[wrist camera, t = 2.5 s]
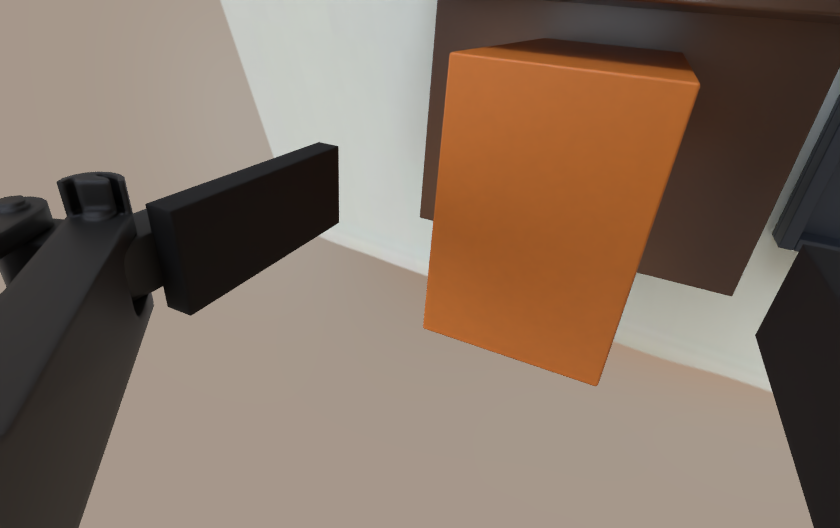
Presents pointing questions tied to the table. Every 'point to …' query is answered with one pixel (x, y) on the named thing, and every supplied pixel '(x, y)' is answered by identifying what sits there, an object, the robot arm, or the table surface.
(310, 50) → the table surface
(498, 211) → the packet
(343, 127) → the table surface
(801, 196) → the tray
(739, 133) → the shelf
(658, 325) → the table surface
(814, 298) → the robot arm
